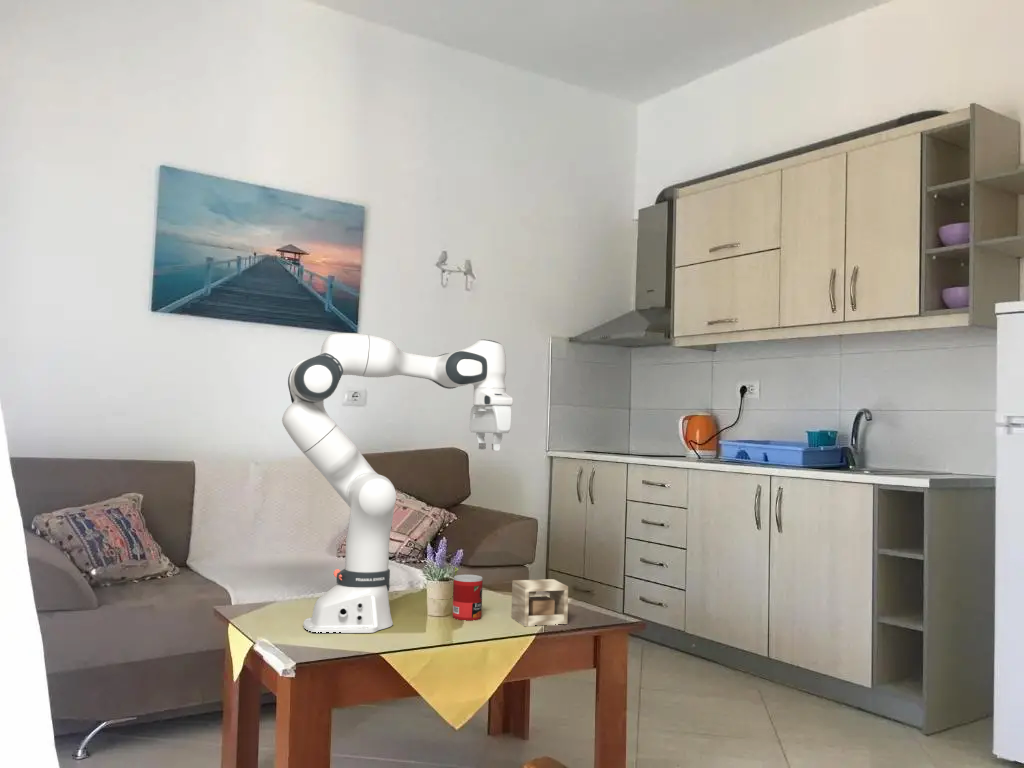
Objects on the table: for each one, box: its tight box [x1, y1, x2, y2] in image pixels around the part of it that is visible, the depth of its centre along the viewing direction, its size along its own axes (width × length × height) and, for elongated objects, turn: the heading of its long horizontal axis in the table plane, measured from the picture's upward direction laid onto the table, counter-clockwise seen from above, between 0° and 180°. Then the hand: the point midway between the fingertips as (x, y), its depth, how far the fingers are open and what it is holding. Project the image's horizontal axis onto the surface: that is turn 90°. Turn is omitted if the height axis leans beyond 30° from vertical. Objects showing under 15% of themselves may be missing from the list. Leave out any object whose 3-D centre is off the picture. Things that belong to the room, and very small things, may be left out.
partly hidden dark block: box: [528, 591, 555, 616], centre depth 235 cm, size 6×20×6 cm, turn 18°
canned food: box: [452, 574, 483, 622], centre depth 231 cm, size 8×8×11 cm
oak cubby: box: [511, 578, 569, 627], centre depth 230 cm, size 12×11×10 cm
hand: (488, 449), depth 233 cm, fingers open, 8 cm apart
